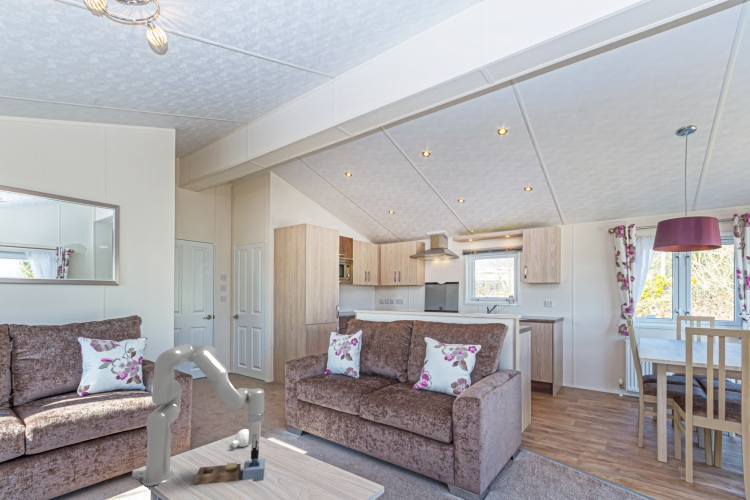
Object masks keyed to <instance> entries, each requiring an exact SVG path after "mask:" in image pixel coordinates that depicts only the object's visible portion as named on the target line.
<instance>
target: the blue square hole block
mask: <svg viewBox="0 0 750 500" xmlns="http://www.w3.org/2000/svg"><path fill="white" fill-rule="evenodd" d="M265 462H266V461H265V458H264V459H263V458H261V459H260V458H259V459H258V464H257V465H252V459H250V460H245V461H244V464H243V469H242V481H247V480H252V482H259V481H264V478H265V470H266V469H265V466H266V465H265V464H266V463H265Z"/></svg>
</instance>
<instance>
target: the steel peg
mask: <svg viewBox="0 0 750 500" xmlns="http://www.w3.org/2000/svg"><path fill="white" fill-rule="evenodd" d="M256 443H257V442H256ZM256 446H257V445H256ZM251 460H252V465H257V464H258V460H259V458H258V459H251Z"/></svg>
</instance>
